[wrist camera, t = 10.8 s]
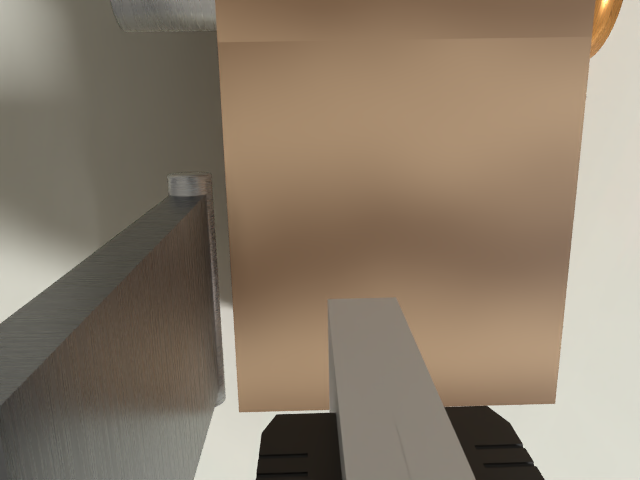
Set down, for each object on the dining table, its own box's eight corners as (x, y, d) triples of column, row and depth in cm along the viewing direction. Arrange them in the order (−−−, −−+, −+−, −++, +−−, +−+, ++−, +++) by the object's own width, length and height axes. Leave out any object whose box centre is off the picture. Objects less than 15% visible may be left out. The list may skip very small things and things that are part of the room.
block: (238, -139, 21) (198, -275, 13) (506, -142, 21) (623, -277, 13) (259, 314, 25) (239, 411, 18) (479, 309, 26) (555, 403, 18)
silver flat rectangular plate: (172, 172, 16) (-144, 363, 5) (214, 171, 16) (-2, 359, 5) (190, 389, 18) (-11, 905, 7) (228, 388, 18) (93, 900, 7)
